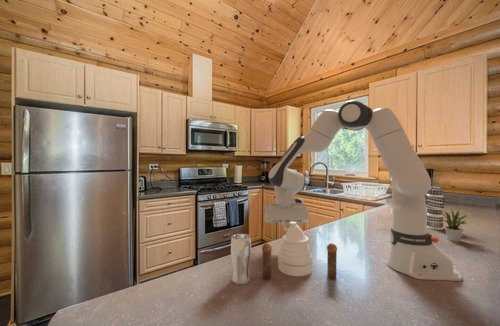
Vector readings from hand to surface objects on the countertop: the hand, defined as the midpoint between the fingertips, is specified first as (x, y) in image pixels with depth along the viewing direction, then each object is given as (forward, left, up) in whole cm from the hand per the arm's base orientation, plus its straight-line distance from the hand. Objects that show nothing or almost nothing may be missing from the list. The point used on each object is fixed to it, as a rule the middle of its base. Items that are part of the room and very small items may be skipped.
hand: (288, 230), depth 105 cm
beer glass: (+13, +28, -10) cm, 33 cm away
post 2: (-17, +17, -10) cm, 27 cm away
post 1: (+5, +24, -10) cm, 27 cm away
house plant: (-80, -40, -10) cm, 90 cm away
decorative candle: (-81, -65, -10) cm, 104 cm away
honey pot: (-4, +14, -10) cm, 18 cm away
